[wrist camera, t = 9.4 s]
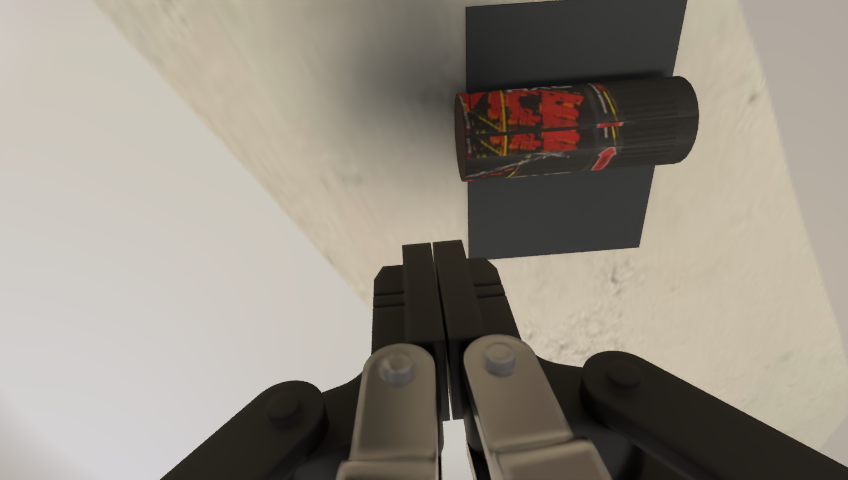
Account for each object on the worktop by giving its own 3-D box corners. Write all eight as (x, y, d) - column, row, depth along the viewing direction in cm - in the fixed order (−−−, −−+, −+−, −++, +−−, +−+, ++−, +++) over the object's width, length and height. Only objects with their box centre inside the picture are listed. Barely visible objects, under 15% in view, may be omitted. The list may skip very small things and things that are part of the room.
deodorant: (454, 81, 34) (664, 64, 34) (455, 156, 37) (645, 140, 38) (465, 115, 29) (709, 95, 29) (465, 197, 33) (682, 179, 33)
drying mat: (465, 6, 32) (466, 7, 32) (686, -9, 32) (689, -8, 32) (468, 259, 42) (469, 261, 42) (637, 245, 43) (639, 247, 42)
